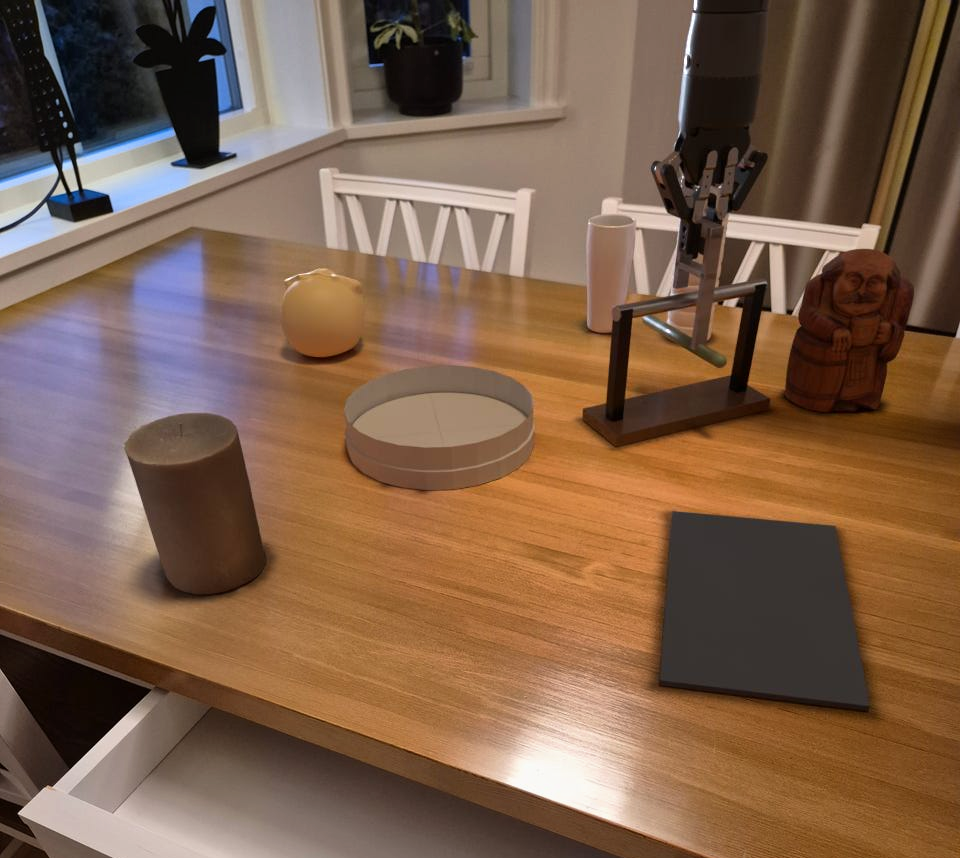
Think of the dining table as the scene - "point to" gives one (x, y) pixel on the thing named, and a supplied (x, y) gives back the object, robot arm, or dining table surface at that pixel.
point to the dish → (439, 427)
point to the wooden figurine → (848, 332)
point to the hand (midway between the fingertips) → (697, 255)
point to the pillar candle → (197, 501)
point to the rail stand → (684, 403)
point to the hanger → (705, 296)
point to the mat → (760, 612)
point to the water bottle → (686, 316)
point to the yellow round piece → (322, 313)
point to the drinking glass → (608, 267)
